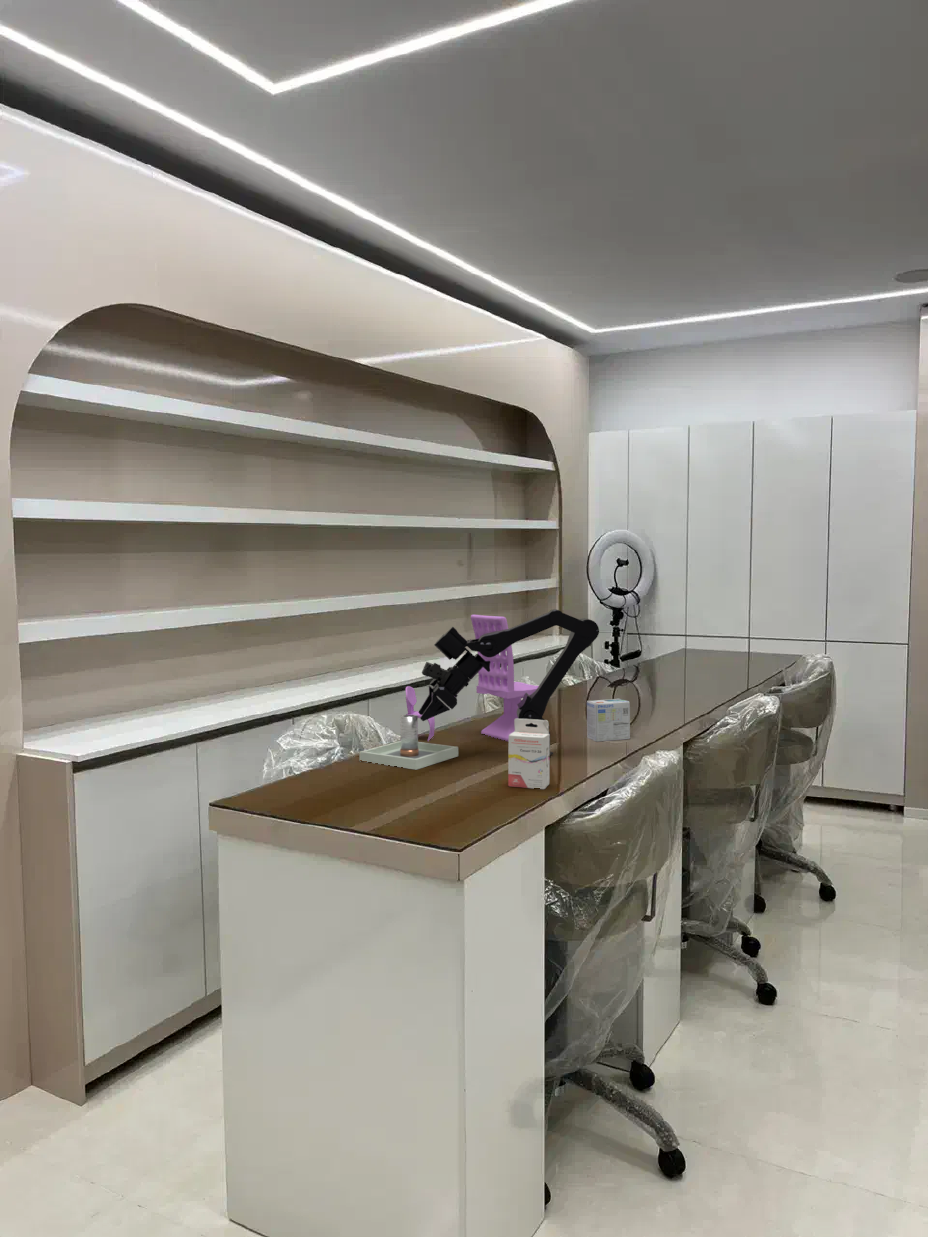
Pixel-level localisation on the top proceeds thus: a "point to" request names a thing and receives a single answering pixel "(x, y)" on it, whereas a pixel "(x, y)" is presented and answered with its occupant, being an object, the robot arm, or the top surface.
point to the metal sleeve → (409, 735)
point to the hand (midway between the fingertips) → (420, 716)
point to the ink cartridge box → (529, 754)
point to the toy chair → (410, 707)
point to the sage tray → (392, 757)
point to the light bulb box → (608, 720)
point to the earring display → (491, 679)
